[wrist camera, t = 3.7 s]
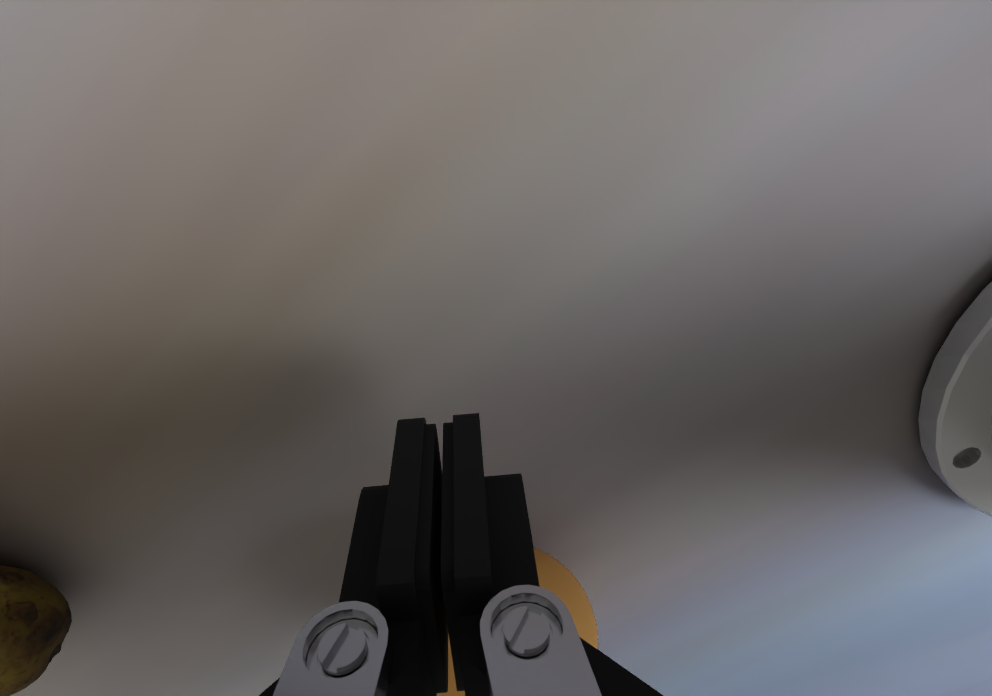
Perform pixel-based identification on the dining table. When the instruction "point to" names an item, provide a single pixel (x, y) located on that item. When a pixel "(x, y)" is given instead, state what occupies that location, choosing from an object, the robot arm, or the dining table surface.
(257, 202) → the dining table surface
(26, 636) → the potato
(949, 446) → the robot arm
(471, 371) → the dining table surface
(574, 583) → the ball
